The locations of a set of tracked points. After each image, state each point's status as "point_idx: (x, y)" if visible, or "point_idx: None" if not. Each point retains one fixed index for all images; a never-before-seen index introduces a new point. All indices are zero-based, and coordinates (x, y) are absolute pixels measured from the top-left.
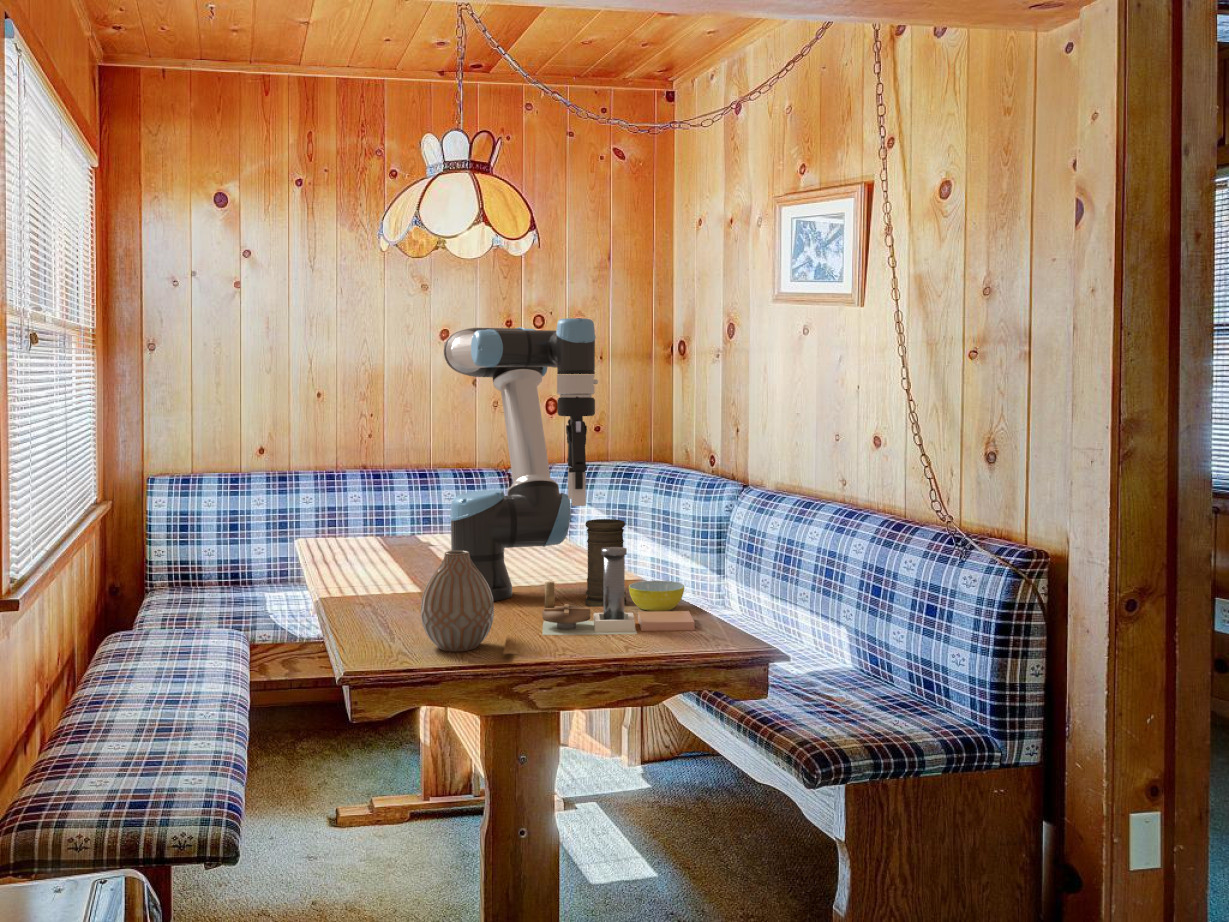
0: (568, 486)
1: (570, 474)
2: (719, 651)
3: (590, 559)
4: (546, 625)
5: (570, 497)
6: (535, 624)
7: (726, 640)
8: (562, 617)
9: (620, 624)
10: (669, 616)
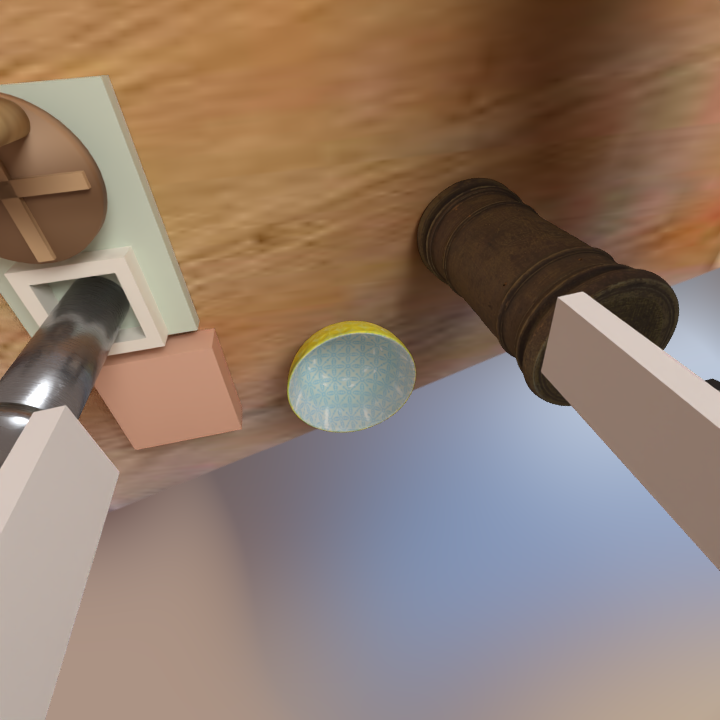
0: (624, 353)
1: (715, 449)
2: None
3: (506, 240)
4: (33, 97)
5: (560, 315)
6: (171, 34)
7: (140, 466)
8: None
9: None
10: (175, 408)
